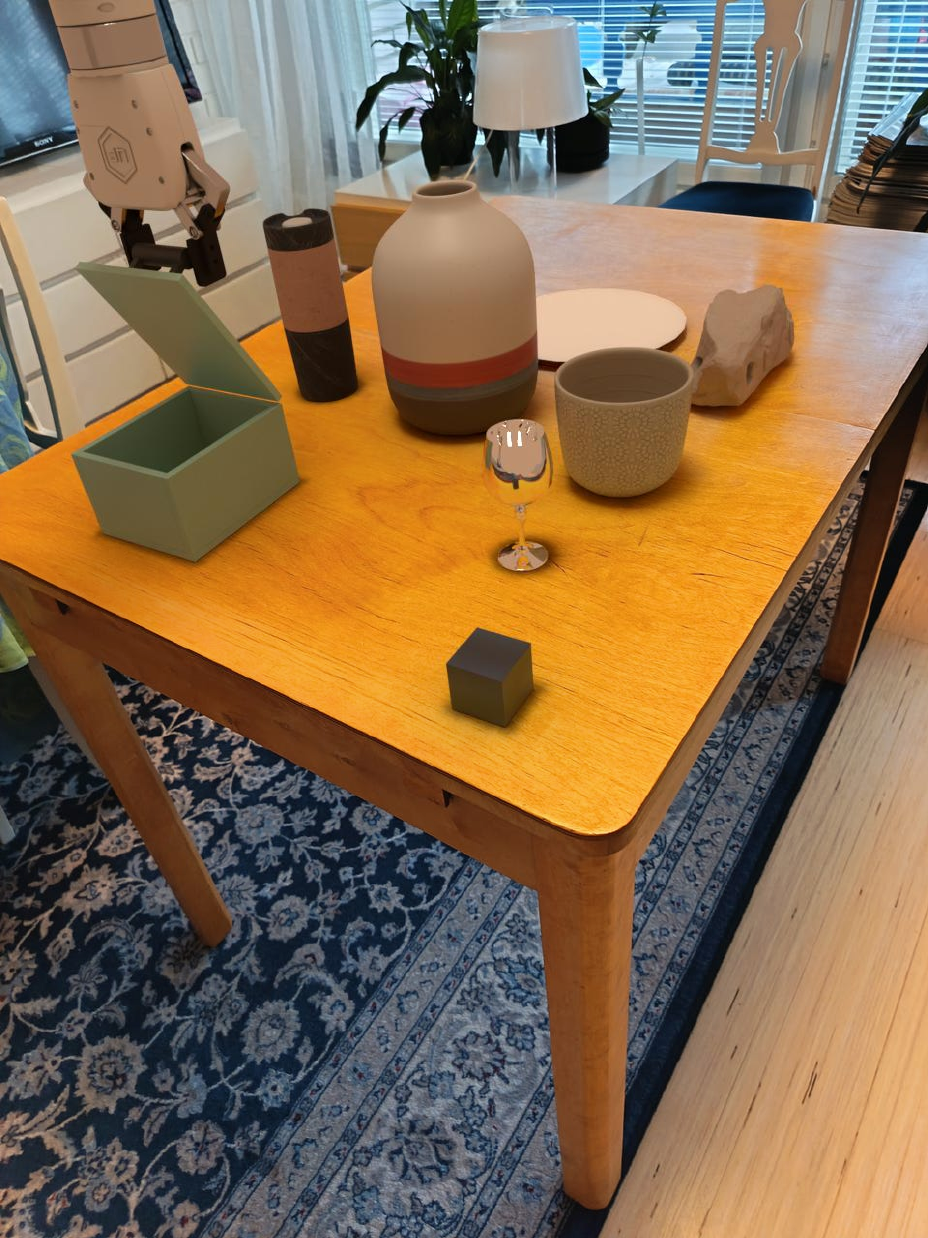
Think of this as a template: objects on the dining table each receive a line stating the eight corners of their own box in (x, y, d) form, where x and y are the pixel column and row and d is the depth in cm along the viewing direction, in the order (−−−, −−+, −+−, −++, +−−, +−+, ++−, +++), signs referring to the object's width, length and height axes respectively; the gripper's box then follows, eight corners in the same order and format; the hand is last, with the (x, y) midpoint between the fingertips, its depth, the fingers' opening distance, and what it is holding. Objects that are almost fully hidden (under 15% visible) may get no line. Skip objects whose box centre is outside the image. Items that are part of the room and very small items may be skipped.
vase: (561, 387, 106) (555, 166, 91) (506, 455, 94) (490, 214, 79) (431, 374, 112) (406, 165, 97) (365, 436, 100) (325, 210, 85)
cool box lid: (177, 280, 74) (206, 233, 75) (74, 268, 79) (103, 224, 81) (279, 402, 88) (301, 360, 89) (185, 384, 93) (207, 345, 95)
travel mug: (334, 407, 107) (299, 230, 94) (285, 397, 110) (246, 225, 98) (372, 381, 112) (344, 209, 99) (325, 372, 115) (292, 205, 103)
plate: (728, 328, 115) (729, 315, 114) (582, 392, 104) (582, 378, 103) (591, 286, 131) (591, 274, 130) (453, 338, 120) (452, 325, 119)
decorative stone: (733, 427, 94) (743, 334, 88) (666, 413, 98) (671, 323, 92) (799, 354, 107) (812, 268, 100) (738, 345, 110) (746, 261, 104)
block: (505, 728, 63) (501, 681, 61) (451, 709, 65) (445, 663, 63) (533, 688, 66) (531, 642, 63) (481, 672, 68) (477, 626, 65)
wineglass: (569, 552, 79) (566, 427, 72) (527, 583, 76) (519, 456, 69) (519, 531, 83) (511, 409, 75) (476, 560, 80) (464, 437, 72)
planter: (531, 479, 90) (526, 375, 83) (623, 436, 95) (625, 335, 88) (618, 528, 81) (620, 417, 75) (713, 479, 87) (723, 371, 80)
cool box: (195, 562, 83) (167, 478, 78) (102, 533, 89) (70, 453, 84) (300, 482, 94) (281, 403, 88) (210, 460, 99) (188, 385, 94)
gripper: (4, 58, 72) (82, 283, 83) (159, 53, 64) (223, 301, 75) (78, 43, 77) (142, 257, 88) (230, 36, 69) (280, 272, 80)
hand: (179, 276), depth 81 cm, fingers open, 7 cm apart
